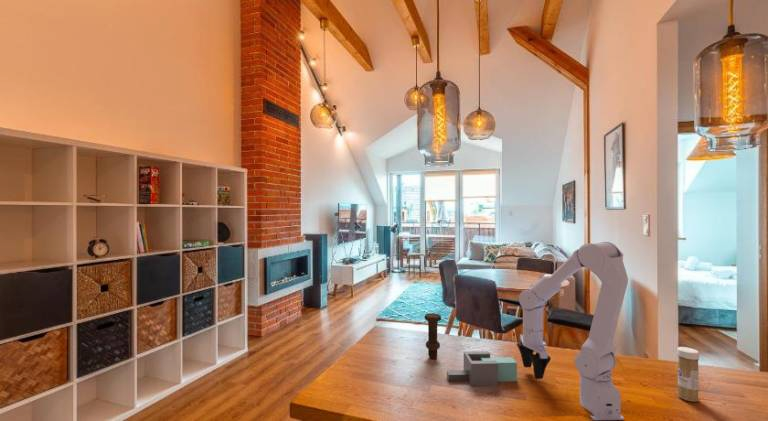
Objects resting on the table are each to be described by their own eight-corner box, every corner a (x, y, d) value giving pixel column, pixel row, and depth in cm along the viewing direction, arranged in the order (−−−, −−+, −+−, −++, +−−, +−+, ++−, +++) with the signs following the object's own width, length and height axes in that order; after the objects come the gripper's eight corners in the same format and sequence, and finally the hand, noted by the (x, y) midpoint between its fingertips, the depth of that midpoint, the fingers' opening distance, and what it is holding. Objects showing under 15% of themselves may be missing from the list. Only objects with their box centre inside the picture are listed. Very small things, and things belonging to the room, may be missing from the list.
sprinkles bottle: (673, 394, 99) (672, 346, 99) (687, 393, 100) (687, 346, 100) (688, 403, 95) (688, 353, 95) (703, 402, 95) (703, 352, 95)
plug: (516, 381, 107) (516, 362, 107) (484, 381, 107) (484, 362, 107) (512, 375, 111) (511, 357, 111) (480, 375, 111) (480, 357, 111)
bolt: (441, 355, 126) (441, 313, 126) (441, 361, 121) (440, 317, 121) (425, 354, 127) (424, 312, 127) (424, 360, 122) (424, 316, 122)
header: (498, 385, 104) (498, 363, 104) (451, 386, 104) (451, 364, 104) (488, 371, 113) (488, 351, 113) (445, 372, 113) (445, 351, 113)
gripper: (557, 336, 102) (558, 383, 102) (534, 321, 117) (534, 362, 117) (534, 336, 102) (534, 383, 102) (513, 321, 116) (513, 362, 116)
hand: (532, 372), depth 109 cm, fingers open, 7 cm apart
